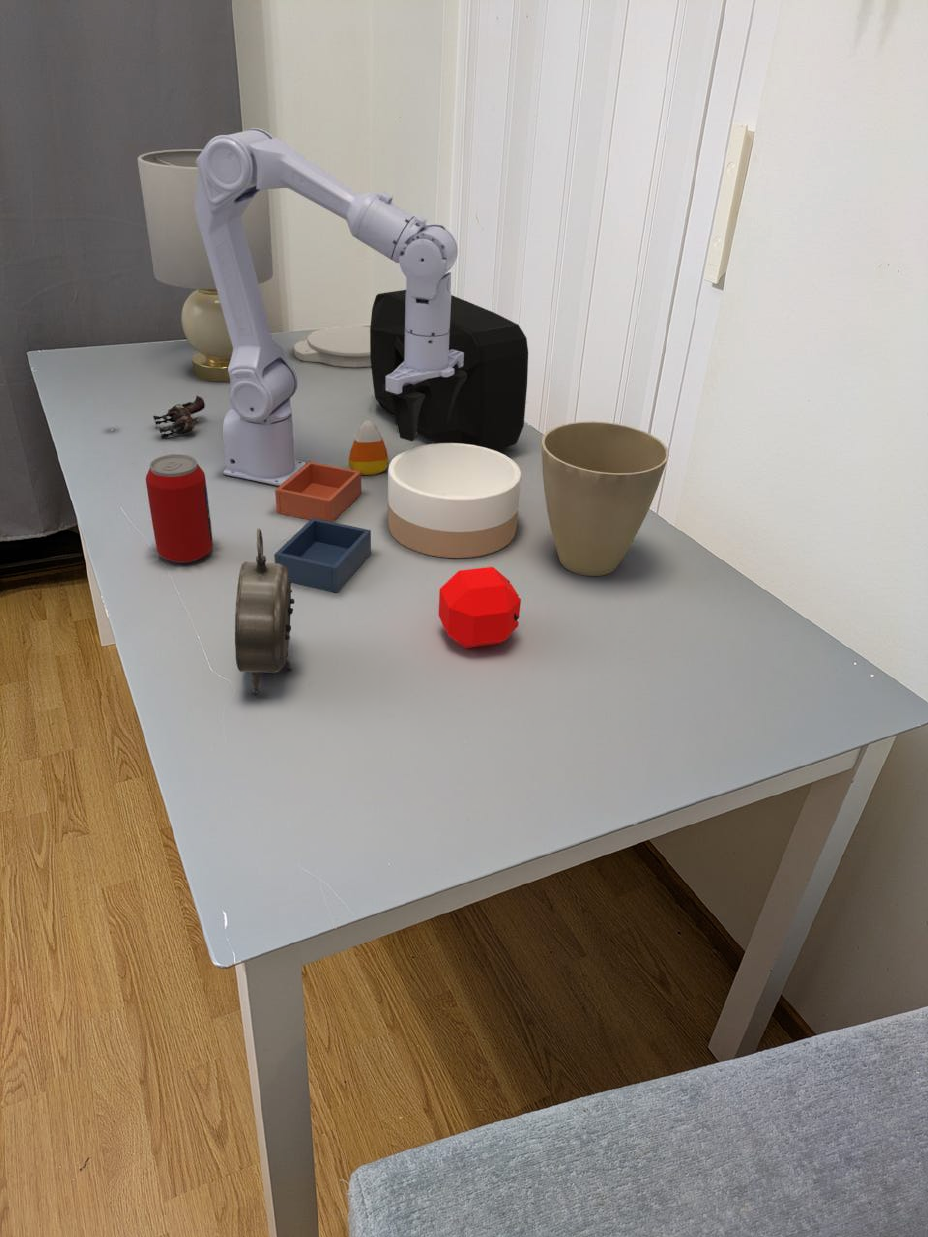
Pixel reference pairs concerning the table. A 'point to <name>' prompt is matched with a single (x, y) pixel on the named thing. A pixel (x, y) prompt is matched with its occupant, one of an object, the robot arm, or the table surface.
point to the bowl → (453, 499)
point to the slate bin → (325, 554)
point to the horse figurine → (181, 417)
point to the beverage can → (179, 508)
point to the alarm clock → (262, 616)
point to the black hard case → (490, 361)
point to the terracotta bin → (318, 492)
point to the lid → (337, 346)
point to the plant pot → (598, 490)
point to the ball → (479, 607)
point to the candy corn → (368, 450)
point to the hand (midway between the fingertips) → (424, 430)
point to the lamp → (196, 252)
